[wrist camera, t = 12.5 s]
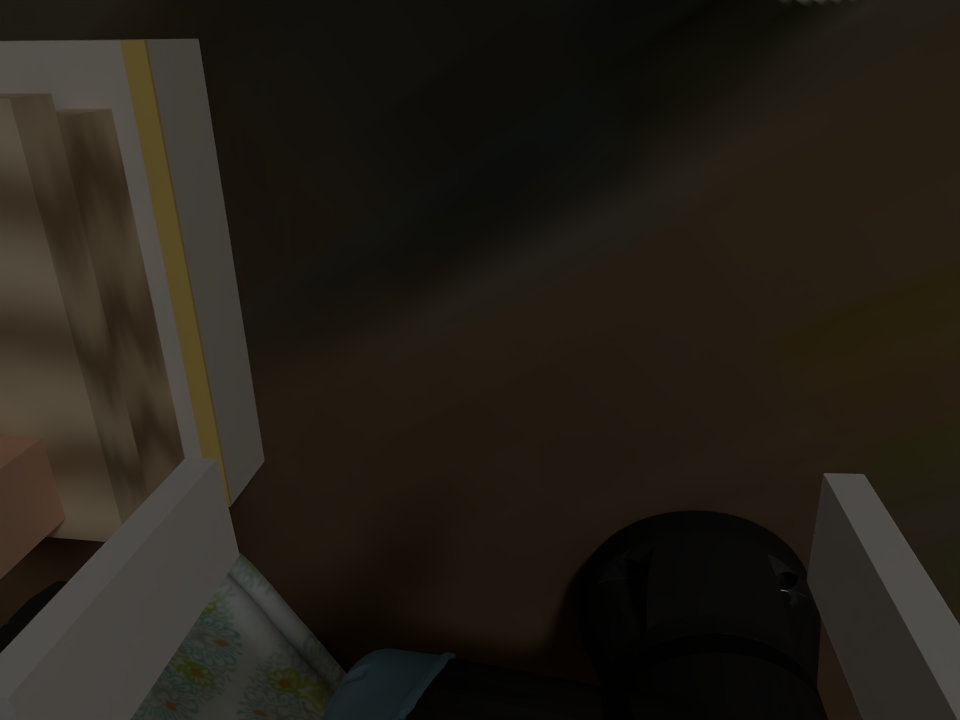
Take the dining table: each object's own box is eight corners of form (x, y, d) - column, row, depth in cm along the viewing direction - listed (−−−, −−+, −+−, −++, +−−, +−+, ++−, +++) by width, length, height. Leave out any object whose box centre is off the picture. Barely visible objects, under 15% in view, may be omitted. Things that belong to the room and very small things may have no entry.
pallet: (188, 474, 44) (126, 543, 38) (22, 463, 45) (-62, 527, 39) (106, 86, 35) (9, 98, 29) (-98, 87, 36) (-231, 98, 30)
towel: (229, 525, 52) (195, 573, 48) (396, 718, 58) (380, 778, 54) (65, 609, 58) (20, 659, 54) (232, 776, 64) (204, 834, 60)
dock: (264, 460, 49) (230, 506, 44) (46, 446, 51) (-8, 488, 46) (198, 38, 38) (144, 40, 33) (-75, 41, 40) (-162, 43, 35)
